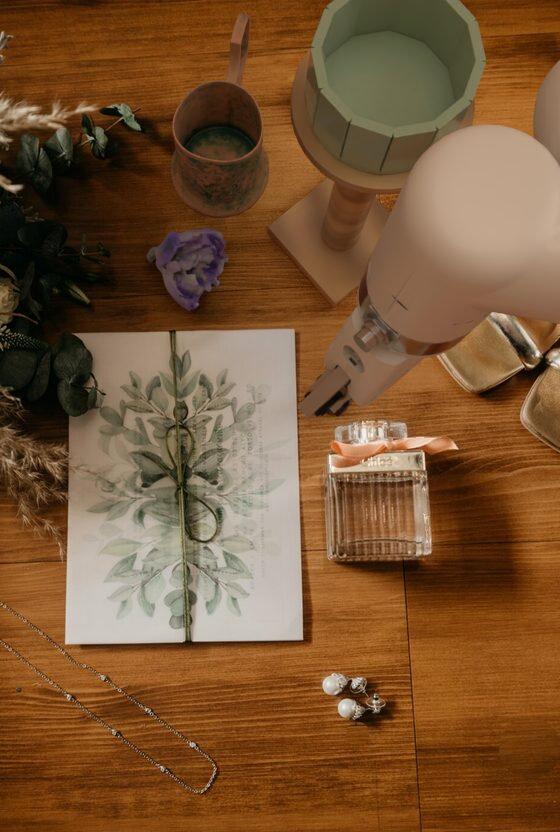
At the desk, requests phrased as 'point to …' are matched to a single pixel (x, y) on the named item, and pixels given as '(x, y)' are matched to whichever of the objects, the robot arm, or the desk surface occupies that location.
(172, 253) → the flower
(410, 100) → the bowl
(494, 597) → the desk surface
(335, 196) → the stand
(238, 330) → the desk surface
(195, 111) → the mug
